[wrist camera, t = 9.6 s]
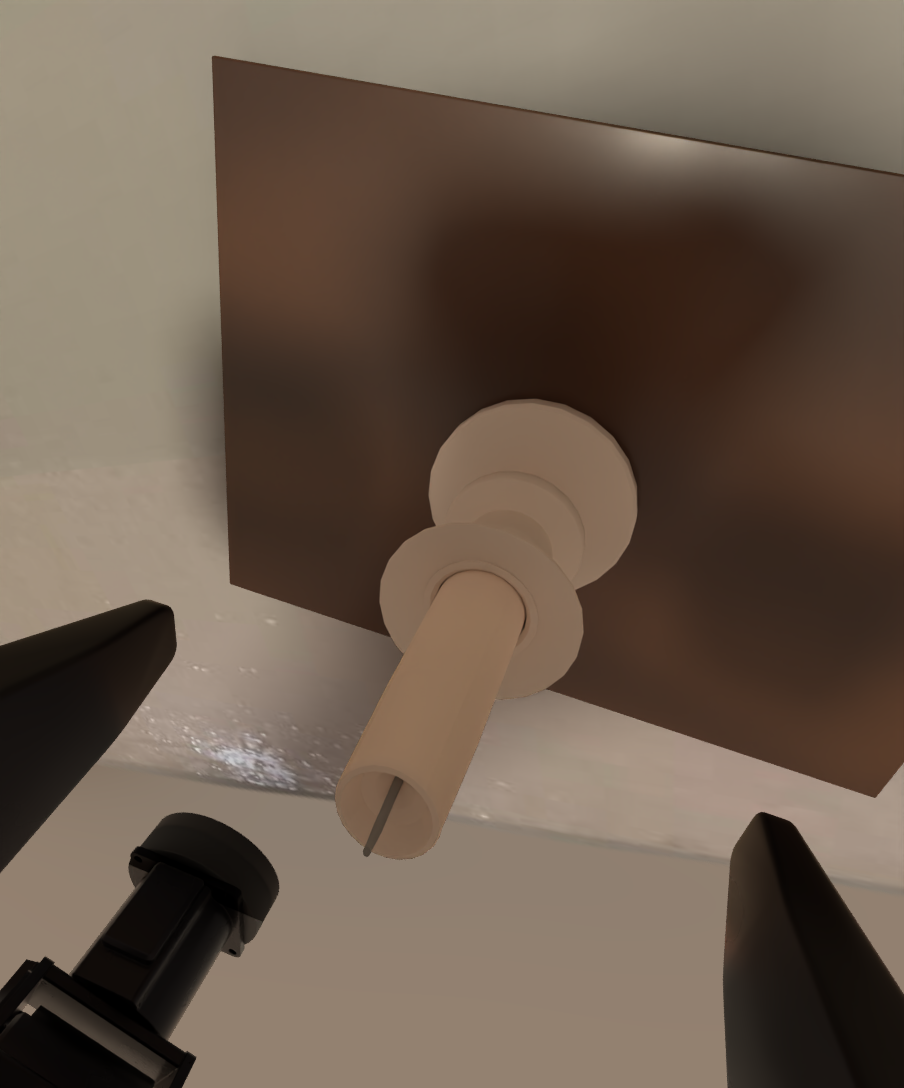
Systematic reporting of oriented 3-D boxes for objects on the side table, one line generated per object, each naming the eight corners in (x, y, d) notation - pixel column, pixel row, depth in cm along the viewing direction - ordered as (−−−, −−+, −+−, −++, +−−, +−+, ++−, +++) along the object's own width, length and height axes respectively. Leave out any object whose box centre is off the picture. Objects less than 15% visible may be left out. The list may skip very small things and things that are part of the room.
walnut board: (868, 776, 18) (875, 798, 18) (243, 571, 22) (229, 584, 21) (1278, 241, 11) (1318, 245, 10) (232, 60, 14) (210, 54, 14)
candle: (431, 390, 16) (129, 644, 7) (652, 405, 14) (614, 744, 6) (436, 571, 18) (220, 922, 10) (625, 599, 17) (571, 1038, 8)
